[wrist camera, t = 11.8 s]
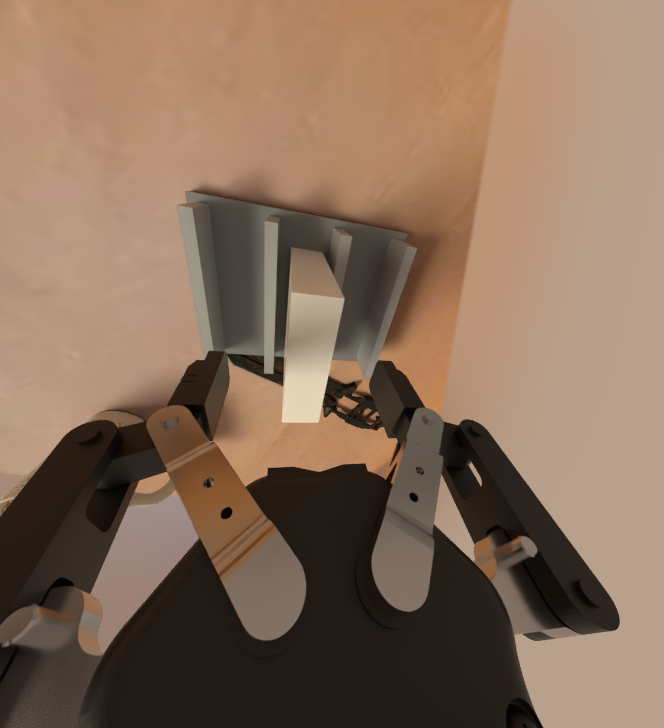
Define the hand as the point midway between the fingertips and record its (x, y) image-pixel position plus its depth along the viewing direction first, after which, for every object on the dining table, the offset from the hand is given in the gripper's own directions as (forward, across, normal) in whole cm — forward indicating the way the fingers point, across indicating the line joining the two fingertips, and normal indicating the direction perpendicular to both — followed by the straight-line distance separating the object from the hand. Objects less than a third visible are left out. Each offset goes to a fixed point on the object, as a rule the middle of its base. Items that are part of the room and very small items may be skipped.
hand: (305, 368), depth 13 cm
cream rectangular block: (+10, 0, +1) cm, 10 cm away
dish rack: (+12, 0, 0) cm, 12 cm away
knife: (+12, -4, +12) cm, 18 cm away
